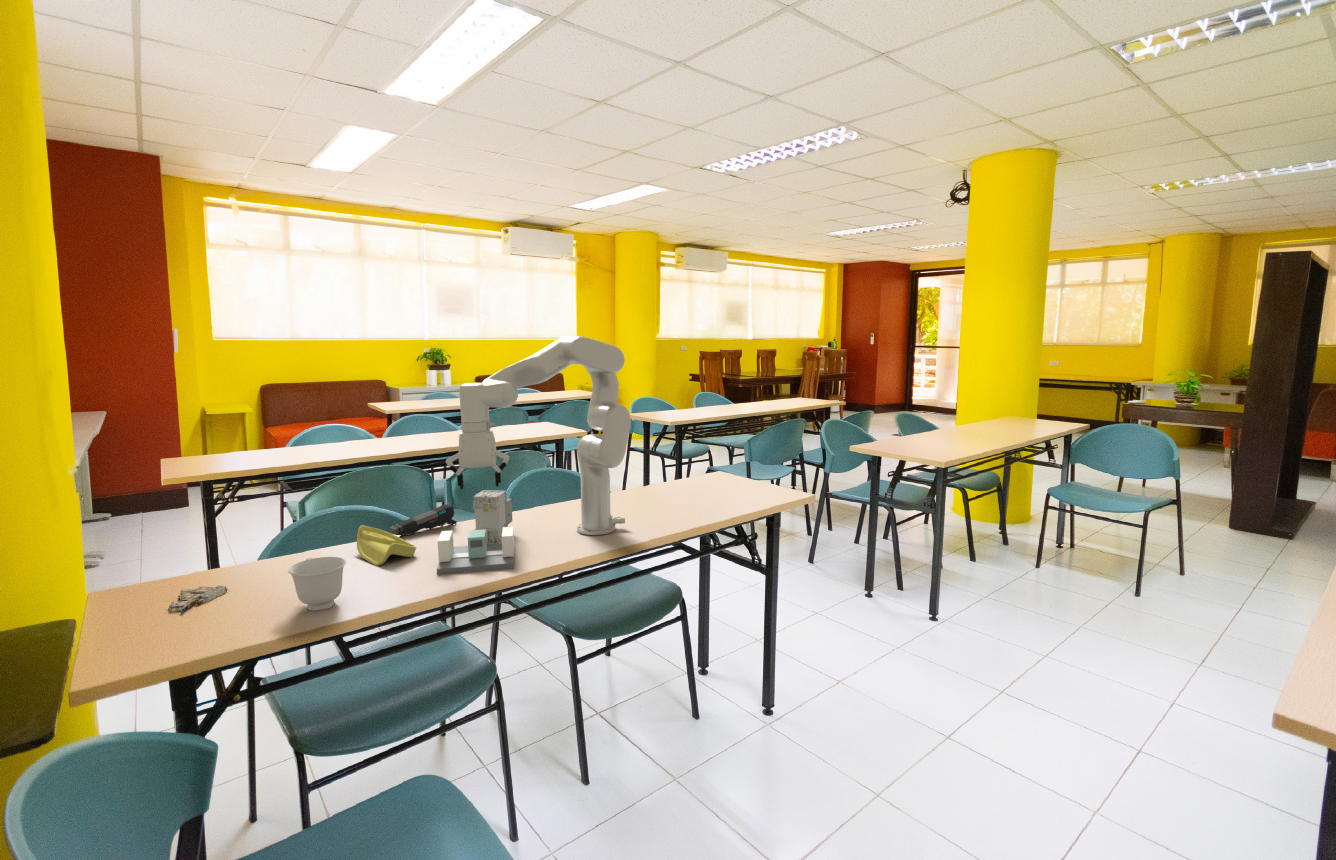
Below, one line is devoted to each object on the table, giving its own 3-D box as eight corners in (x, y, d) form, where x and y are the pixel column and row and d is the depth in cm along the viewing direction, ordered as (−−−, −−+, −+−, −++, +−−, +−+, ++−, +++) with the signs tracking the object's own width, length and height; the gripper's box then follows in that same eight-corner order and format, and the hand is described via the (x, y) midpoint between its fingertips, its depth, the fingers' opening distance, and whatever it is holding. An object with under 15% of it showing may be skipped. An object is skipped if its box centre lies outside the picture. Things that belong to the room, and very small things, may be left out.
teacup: (337, 587, 161) (334, 550, 160) (356, 606, 150) (353, 565, 149) (283, 601, 153) (279, 561, 152) (299, 621, 142) (295, 578, 141)
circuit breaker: (514, 530, 208) (512, 485, 206) (499, 544, 194) (496, 496, 192) (492, 529, 209) (490, 485, 207) (475, 543, 195) (473, 496, 193)
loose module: (486, 549, 185) (485, 529, 184) (485, 557, 178) (484, 536, 177) (470, 550, 184) (469, 530, 183) (468, 558, 177) (467, 538, 176)
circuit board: (169, 620, 145) (168, 610, 144) (169, 598, 156) (168, 589, 156) (232, 606, 152) (231, 597, 152) (228, 586, 164) (227, 577, 163)
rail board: (514, 547, 192) (513, 522, 191) (513, 568, 175) (512, 540, 173) (445, 552, 188) (443, 526, 186) (437, 574, 170) (435, 546, 169)
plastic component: (420, 548, 184) (389, 541, 177) (410, 573, 183) (378, 567, 175) (386, 530, 196) (356, 523, 189) (376, 553, 195) (346, 547, 188)
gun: (460, 523, 215) (449, 498, 211) (406, 556, 203) (393, 530, 199) (454, 521, 218) (443, 496, 214) (401, 553, 206) (388, 527, 202)
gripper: (507, 423, 183) (511, 481, 186) (444, 427, 179) (449, 485, 182) (507, 427, 176) (511, 487, 179) (441, 431, 172) (446, 492, 175)
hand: (479, 486), depth 180 cm, fingers open, 9 cm apart
